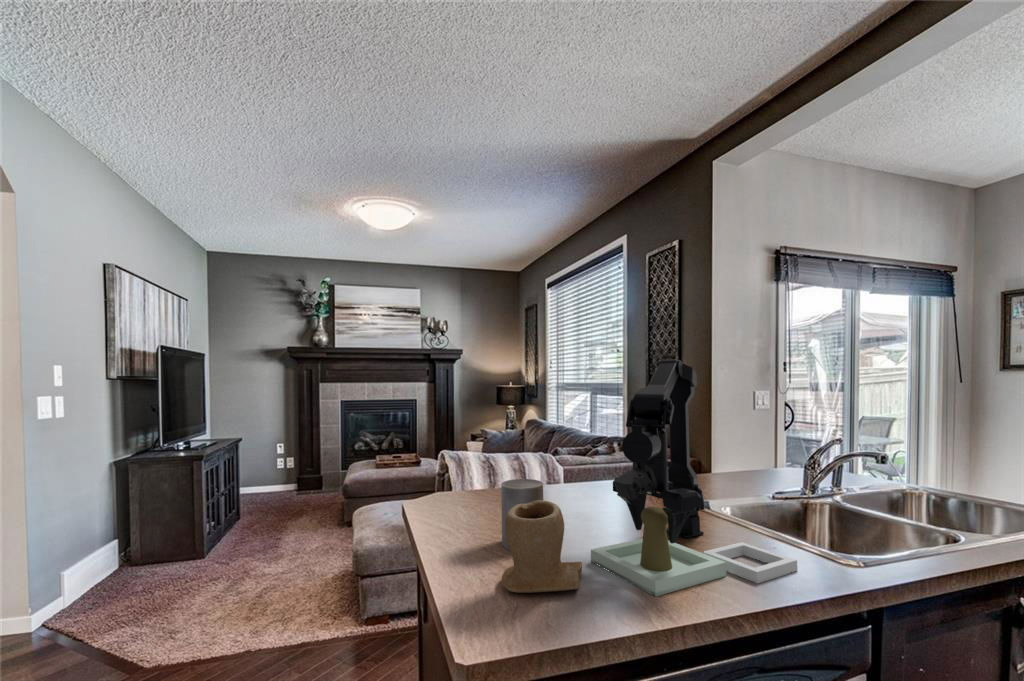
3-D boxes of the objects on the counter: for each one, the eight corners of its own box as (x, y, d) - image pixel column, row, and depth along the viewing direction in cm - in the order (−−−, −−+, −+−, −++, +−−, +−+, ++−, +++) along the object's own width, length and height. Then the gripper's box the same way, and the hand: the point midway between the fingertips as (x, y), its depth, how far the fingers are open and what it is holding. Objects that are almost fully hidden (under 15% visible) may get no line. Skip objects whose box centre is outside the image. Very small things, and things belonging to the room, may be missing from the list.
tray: (591, 562, 98) (590, 549, 98) (656, 547, 107) (656, 535, 107) (655, 596, 82) (655, 581, 83) (726, 575, 91) (725, 562, 91)
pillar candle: (534, 535, 115) (532, 471, 117) (552, 548, 106) (550, 479, 108) (495, 541, 112) (494, 475, 113) (511, 555, 103) (509, 483, 104)
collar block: (703, 561, 98) (703, 551, 98) (742, 551, 104) (741, 542, 104) (757, 583, 87) (757, 572, 88) (797, 570, 93) (796, 560, 93)
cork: (634, 562, 96) (632, 505, 97) (659, 558, 98) (657, 503, 99) (652, 573, 91) (650, 513, 92) (678, 569, 93) (676, 510, 94)
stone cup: (500, 604, 80) (500, 512, 81) (502, 575, 92) (501, 495, 93) (592, 603, 80) (590, 511, 81) (581, 575, 92) (580, 494, 93)
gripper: (591, 452, 101) (593, 529, 99) (656, 466, 84) (659, 558, 83) (632, 449, 106) (634, 521, 105) (701, 461, 90) (704, 547, 88)
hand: (655, 536), depth 95 cm, fingers open, 9 cm apart
